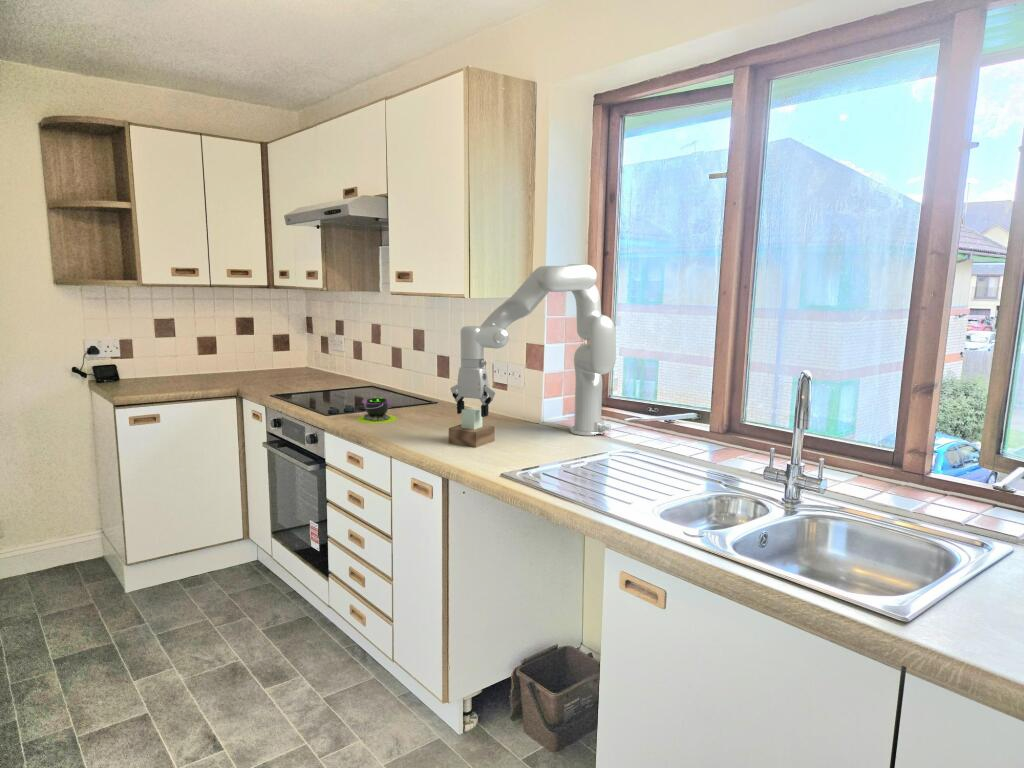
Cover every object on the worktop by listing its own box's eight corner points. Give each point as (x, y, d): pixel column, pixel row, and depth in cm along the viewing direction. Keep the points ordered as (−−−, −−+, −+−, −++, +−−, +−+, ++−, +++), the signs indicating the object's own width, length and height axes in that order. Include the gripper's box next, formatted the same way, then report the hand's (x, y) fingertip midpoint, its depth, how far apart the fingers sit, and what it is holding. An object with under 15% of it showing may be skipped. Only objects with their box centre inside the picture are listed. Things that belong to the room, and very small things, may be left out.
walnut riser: (494, 440, 225) (494, 426, 224) (475, 447, 216) (476, 432, 215) (468, 436, 231) (468, 422, 230) (448, 442, 221) (448, 428, 221)
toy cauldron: (349, 418, 257) (349, 390, 255) (382, 413, 267) (382, 386, 265) (370, 425, 246) (370, 396, 244) (404, 419, 256) (404, 391, 255)
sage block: (482, 426, 223) (482, 409, 222) (473, 429, 219) (474, 411, 218) (470, 424, 226) (470, 407, 225) (461, 427, 222) (461, 409, 221)
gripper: (500, 364, 218) (500, 415, 220) (457, 360, 227) (458, 410, 229) (487, 367, 211) (487, 419, 214) (444, 363, 220) (444, 413, 223)
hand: (472, 414), depth 222 cm, fingers open, 9 cm apart
